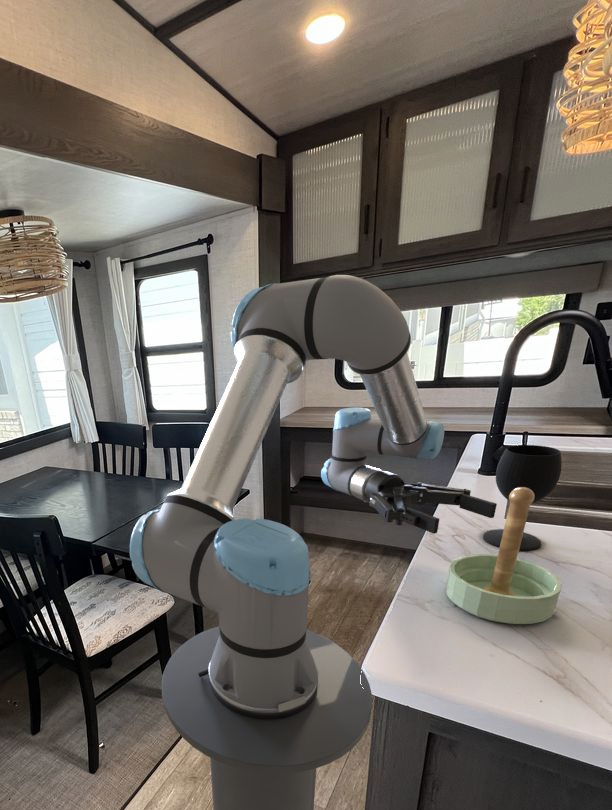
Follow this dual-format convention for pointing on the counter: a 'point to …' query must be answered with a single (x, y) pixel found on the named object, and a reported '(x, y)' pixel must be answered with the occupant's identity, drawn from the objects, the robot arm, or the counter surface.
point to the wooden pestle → (511, 540)
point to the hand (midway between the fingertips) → (466, 518)
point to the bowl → (527, 606)
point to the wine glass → (526, 481)
